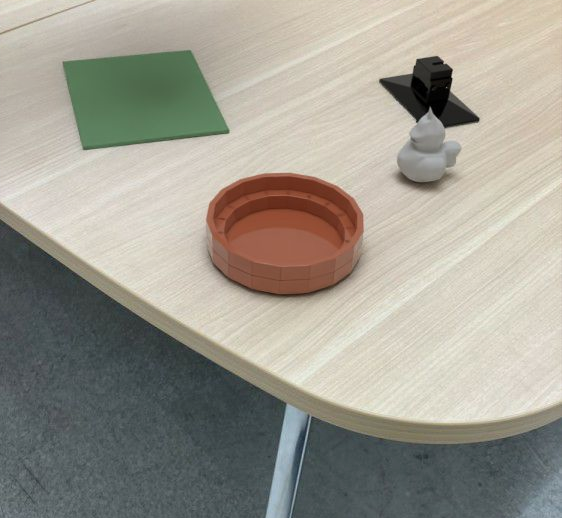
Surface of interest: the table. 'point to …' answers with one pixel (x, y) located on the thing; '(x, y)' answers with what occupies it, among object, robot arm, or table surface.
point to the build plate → (430, 93)
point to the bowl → (284, 232)
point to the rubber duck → (427, 151)
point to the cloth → (141, 99)
